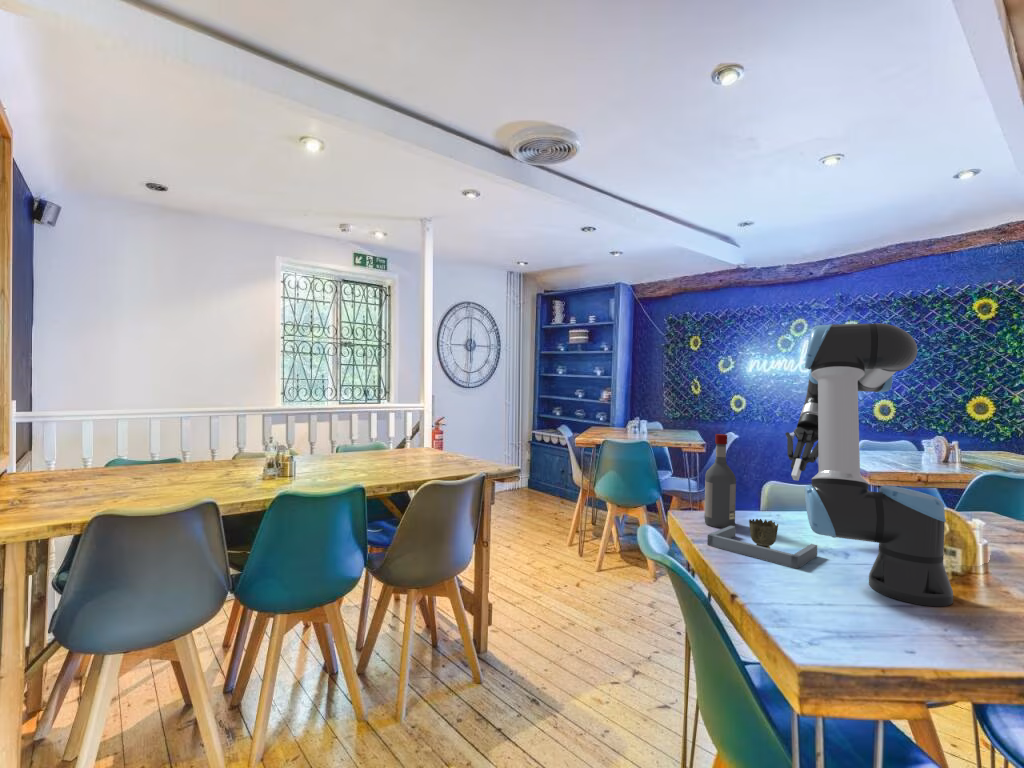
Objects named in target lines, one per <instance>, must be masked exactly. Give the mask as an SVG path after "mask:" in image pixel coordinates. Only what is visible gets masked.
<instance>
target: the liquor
mask: <svg viewBox="0 0 1024 768" xmlns="http://www.w3.org/2000/svg"><path fill="white" fill-rule="evenodd" d="M714 439H715V440H714V441H715V442H714V443H715V445H716V446H715V460H714V463H712V465H711V466H710V467H709V468H708V469H707V470H706V472H705V477H704V480H705V481H704V482H705V483H704V516H703V518H704V522H705V524H706V526H709V527H712V528H721V529H723V528H726V527H728V526H735V527H736V502H737V500H736V498H737V497H736V496H737V495H736V491H737V489H736V487H737V479H736V475H735V473H734V471H732V469H731V467H730V466H729V464H727V445H728V434H727V433H726V434H724V433H715V438H714Z"/></svg>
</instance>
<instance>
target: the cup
mask: <svg viewBox="0 0 1024 768" xmlns="http://www.w3.org/2000/svg"><path fill="white" fill-rule="evenodd" d="M748 522H749V523H748V525H749V533H750V538H751V540H752V542H753V543H755V545H758V546H762V547H766V548H770V549H771V547H770V546H772V545H774V544H775V542H776V540H777V536H778V529H779V523H777V524H776V522H775V521H773V520H771V519H769V520H768V521H767V519H765V520H764V521H763V520H762V518H759V519H758V518H756V519H754V518H752V519H751V518H749V520H748Z"/></svg>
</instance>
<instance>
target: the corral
mask: <svg viewBox="0 0 1024 768" xmlns="http://www.w3.org/2000/svg"><path fill="white" fill-rule="evenodd" d="M736 533H737V532H736V525H735V526H728V527H726V528H721V529H718V530H716V531H713V532H711V533H708V534H707V542H706V543H707V544H706V545H707V546H710V547H714V548H718V549H721V550H725V551H727V552H728V551H729V552H733V553H736V554H739V555H744V556H748V557H751V558H755V559H757V560H759V559H760V560H763V561H765V562H766V561H767V562H770V563H774V564H778V565H781V566H785V567H789V568H793V569H797V570H798V569H799V568H800V569H801V568H802V567H803V566H805V565H806V564H807V563H808V562H811V561H812V560H814V559H815V558H817V556H818V544H814V543H810V544H809V545H807V546H806V547H803V548H802V549H800V550H798V551H797V552H795V553H794V554H793V553H791V552H790V553H789V552H786V551H782V550H778V549H773V548H771V547H770V548H766V547H762V546H758V545H756V544H753V543H749V542H746V541H741V540H736V539H733V538H734V537H736Z"/></svg>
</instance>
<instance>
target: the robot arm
mask: <svg viewBox="0 0 1024 768" xmlns="http://www.w3.org/2000/svg"><path fill="white" fill-rule="evenodd" d="M809 333H810V334H809V338H808V342H807V343H808V344H807V347H806V348H807V349H806V354H805V361H804V368H805V369H807V370H809V374H808V383H807V390H806V396H805V400H804V404H803V406H802V410H801V412H800V415H799V417H798V422H797V425H796V428H795V429H793V432H789V431H786V432H785V436H786V439H787V441H786V442H787V445H786V446H787V451H786V453H787V457H788V459H789V460H790V461H791V464H790V468H791V470H792V471H791V475H790V476H791V478H792V480H793V481H797V482H798V481H799V480H800V477H801V473H802V472H805V471H806V468H807V464H808V463H812V464H813V463H815V462H816V460H817V459H818V472H817V473H816V474H815V475H814V476H813V477H812V478H811V484H808V485H805V487H804V497H805V498H804V500H805V507H806V514H807V520H808V523H809V527H810V529H811V530H812V532H814V533H815V534H817V535H820V536H826V537H831V538H837V539H838V538H839V539H847V540H853V541H854V540H855V541H862V542H869V543H876V544H877V543H878V554H877V556H876V557H875V560H874V562H873V565H872V566H871V570H870V572H869V574H868V586H869V587H870V588H871V589H873V590H874V591H876V592H878V593H879V594H881V595H884V596H887V597H889V598H892V599H895V600H898V601H901V602H905V603H910V604H915V605H920V606H927V607H947V606H950V605H952V604H953V602H954V590H953V587H952V586H951V585H952V584H951V582H950V580H949V577H948V574H947V570H946V568H945V566H944V565H945V564H944V555H945V554H944V551H945V525H946V524H945V523H946V520H947V518H946V513H945V512H946V511H945V505H944V503H943V501H942V500H941V499H939V498H938V497H936V496H934V495H931V494H928V493H924V492H921V491H918V490H914V489H909V488H904V487H899V486H892V485H882V486H881V487H880V488H879V489H878V491H871V490H869V482H868V481H867V480H866V479H865V478H863V477H862V476H861V463H860V462H861V460H860V457H861V456H860V453H861V452H860V426H859V425H860V423H859V421H860V420H859V417H860V416H859V392H869V393H871V392H873V393H882V392H884V393H885V392H889V391H891V389H892V385H893V375H894V374H895V373H897V372H900V371H903V370H905V369H907V368H908V367H910V366H911V365H912V364H913V362H914V361H915V360H916V358H917V357H918V355H917V354H918V346H917V343H916V340H915V339H914V337H913V336H912V335H911V334H909V332H907V331H906V330H904V329H903V328H900V327H898V326H895V325H893V324H892V325H891V324H888V323H882V322H881V323H879V322H876V323H875V322H874V323H843V324H842V323H840V324H837V323H835V324H833V323H830V324H819V325H814V326H813V327H812V329H811V330H810V332H809ZM795 437H796V439H797V442H796V445H795V449H794V440H795ZM815 443H816V445H814V444H815Z"/></svg>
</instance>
